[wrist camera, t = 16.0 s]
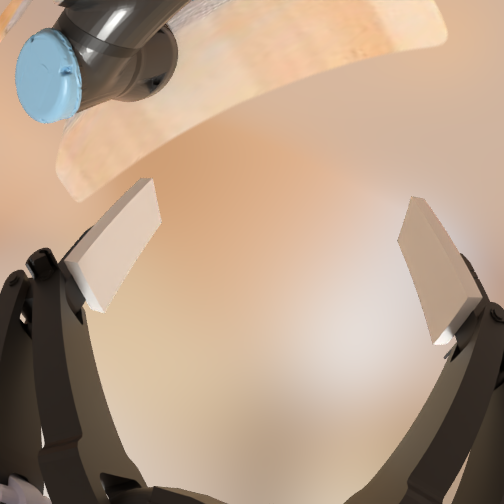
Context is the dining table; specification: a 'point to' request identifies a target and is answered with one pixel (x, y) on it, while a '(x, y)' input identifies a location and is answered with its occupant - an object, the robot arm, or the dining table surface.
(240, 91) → the dining table surface
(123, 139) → the dining table surface
